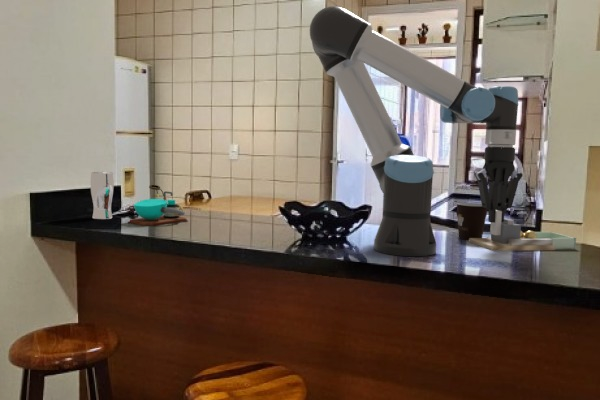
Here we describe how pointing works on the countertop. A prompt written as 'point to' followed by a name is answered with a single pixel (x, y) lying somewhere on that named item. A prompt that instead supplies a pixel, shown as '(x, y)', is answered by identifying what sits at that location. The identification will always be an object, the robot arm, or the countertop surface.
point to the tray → (558, 240)
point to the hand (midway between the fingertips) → (495, 234)
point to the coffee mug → (470, 220)
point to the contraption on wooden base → (158, 211)
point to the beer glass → (102, 194)
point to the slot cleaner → (507, 232)
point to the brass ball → (530, 235)
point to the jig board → (515, 244)
